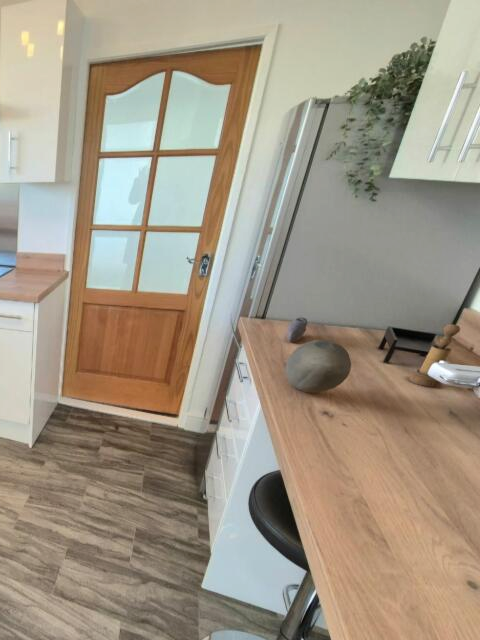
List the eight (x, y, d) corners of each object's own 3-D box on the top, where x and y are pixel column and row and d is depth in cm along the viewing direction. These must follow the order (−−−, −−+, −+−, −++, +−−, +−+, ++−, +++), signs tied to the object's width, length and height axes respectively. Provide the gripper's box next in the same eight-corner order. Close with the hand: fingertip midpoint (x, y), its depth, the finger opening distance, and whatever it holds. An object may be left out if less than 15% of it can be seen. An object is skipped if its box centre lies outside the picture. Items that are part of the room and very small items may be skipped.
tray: (424, 355, 145) (436, 333, 142) (433, 371, 134) (446, 348, 130) (378, 347, 152) (388, 326, 148) (383, 362, 140) (394, 339, 137)
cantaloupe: (267, 386, 124) (284, 338, 118) (294, 377, 130) (313, 330, 123) (321, 408, 113) (343, 356, 106) (348, 396, 119) (371, 347, 112)
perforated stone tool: (296, 346, 153) (303, 327, 150) (279, 342, 156) (285, 324, 153) (305, 335, 162) (311, 318, 159) (288, 332, 165) (294, 315, 162)
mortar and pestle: (410, 375, 131) (439, 319, 123) (440, 382, 127) (472, 325, 119) (406, 381, 128) (436, 324, 120) (437, 389, 123) (470, 330, 115)
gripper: (442, 393, 107) (410, 370, 118) (551, 406, 101) (506, 381, 113) (455, 370, 104) (421, 349, 116) (567, 382, 98) (520, 359, 110)
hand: (464, 365), depth 114 cm, fingers open, 8 cm apart
